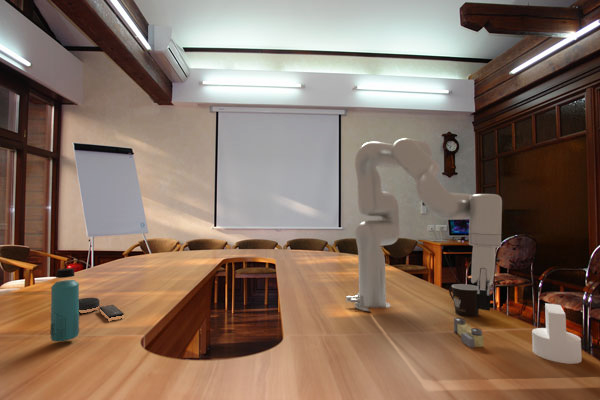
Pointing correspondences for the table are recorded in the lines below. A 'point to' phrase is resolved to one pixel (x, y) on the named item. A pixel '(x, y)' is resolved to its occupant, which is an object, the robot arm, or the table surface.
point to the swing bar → (468, 331)
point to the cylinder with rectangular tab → (556, 338)
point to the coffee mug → (464, 299)
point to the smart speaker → (88, 303)
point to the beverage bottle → (64, 307)
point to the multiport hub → (111, 311)
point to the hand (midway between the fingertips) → (483, 308)
